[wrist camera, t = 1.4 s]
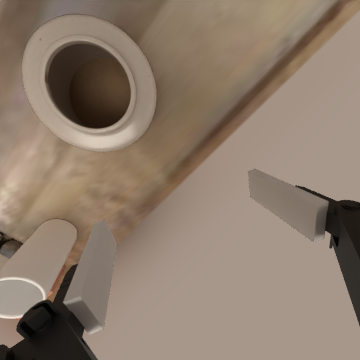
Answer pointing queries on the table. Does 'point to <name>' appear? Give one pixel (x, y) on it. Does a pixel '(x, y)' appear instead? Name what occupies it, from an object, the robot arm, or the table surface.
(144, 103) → the vase
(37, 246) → the cup
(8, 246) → the rollers
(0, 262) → the board
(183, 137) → the table surface
